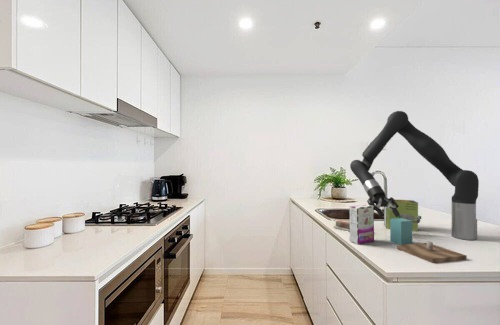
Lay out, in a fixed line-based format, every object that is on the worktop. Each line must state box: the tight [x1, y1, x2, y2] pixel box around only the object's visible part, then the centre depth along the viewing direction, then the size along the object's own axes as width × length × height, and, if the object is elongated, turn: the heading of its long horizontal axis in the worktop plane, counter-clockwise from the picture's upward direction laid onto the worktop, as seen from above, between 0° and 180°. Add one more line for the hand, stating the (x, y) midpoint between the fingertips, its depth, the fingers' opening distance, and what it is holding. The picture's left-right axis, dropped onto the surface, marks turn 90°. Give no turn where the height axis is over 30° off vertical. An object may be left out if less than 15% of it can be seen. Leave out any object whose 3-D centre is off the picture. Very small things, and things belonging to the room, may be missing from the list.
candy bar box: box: [349, 204, 375, 245], centre depth 117 cm, size 11×5×16 cm, turn 117°
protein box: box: [383, 198, 419, 232], centre depth 143 cm, size 10×15×16 cm
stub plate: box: [396, 241, 468, 264], centre depth 101 cm, size 16×16×4 cm
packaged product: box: [333, 219, 350, 233], centre depth 136 cm, size 18×5×10 cm
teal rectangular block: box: [389, 218, 413, 245], centre depth 114 cm, size 6×6×11 cm
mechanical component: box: [398, 214, 422, 226], centre depth 129 cm, size 3×10×10 cm, turn 79°
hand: (390, 216), depth 121 cm, fingers open, 8 cm apart
